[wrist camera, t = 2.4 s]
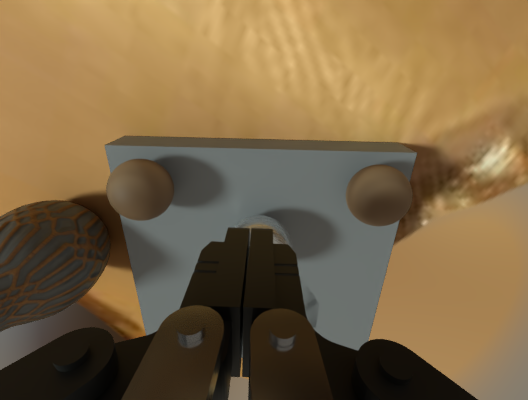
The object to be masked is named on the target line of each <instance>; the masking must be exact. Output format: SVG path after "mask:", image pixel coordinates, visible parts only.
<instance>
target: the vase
mask: <svg viewBox="0 0 528 400" xmlns="http://www.w3.org/2000/svg"><path fill="white" fill-rule="evenodd" d="M109 254H110V238H109V234H108V231H107V229H106V227H105V225H104V223H103V222H102V221H101V220H100V218H99V217H98V216H97V215H95V214H94V213H93V212H92V211H90V210H89V209H87V208H85V207H83V206H81V205H78V204H75V203H71V202H67V201H60V200H52V201H41V202H35V203H31V204H28V205H24V206H21V207H19V208H16V209H14V210H12V211H10V212H8V213H6V214H4V215H2V216H0V332H1V331H3V330H5V329H8V328H10V327H13V326H17V325H22V324H26V323H30V322H34V321H38V320H41V319H45V318H47V317H50V316H53V315H55V314H57V313H59V312H61V311H63V310H65V309H66V308H68V307H69V306H71V305H72V304H74V303H75V302H77V301H78V300H79V299H80V298H82V297H83V296H84V295H85V294H86V293H87V292H88V291H89V290H90V289H91V288H92V287H93V286H94V284H95V283H96V282H97V280H98V279H99V277H100V276H101V274H102V273H103V271H104V269H105V267H106V264H107V262H108V258H109Z"/></svg>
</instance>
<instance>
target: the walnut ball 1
mask: <svg viewBox="0 0 528 400" xmlns="http://www.w3.org/2000/svg"><path fill="white" fill-rule="evenodd" d="M106 192H107V197H108V200H109V202H110V204H111V206H112V207H113V208H114V209H115V210H116V211H117V212H118V213H119V214H120V215H122V216H124V217H126V218H128V219H131V220H137V221H145V220H150V219H153V218H156V217H158V216H159V215H161V214H162V213H164V212H165V211H166V210H167V209H168V207H169V206H170V204H171V202H172V200H173V196H174V184H173V180H172V178H171V176H170V174H169V173H168V172H167V170H166V169H165V168H164V167H162V166H161V165H160V164H158V163H156V162H154V161H152V160H148V159H132V160H128V161H126V162H124V163H122V164H120V165H119V166H117V167H116V168H115V169H114V170H113V172H112V173H111V174H110V176H109V179H108V182H107V187H106Z"/></svg>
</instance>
